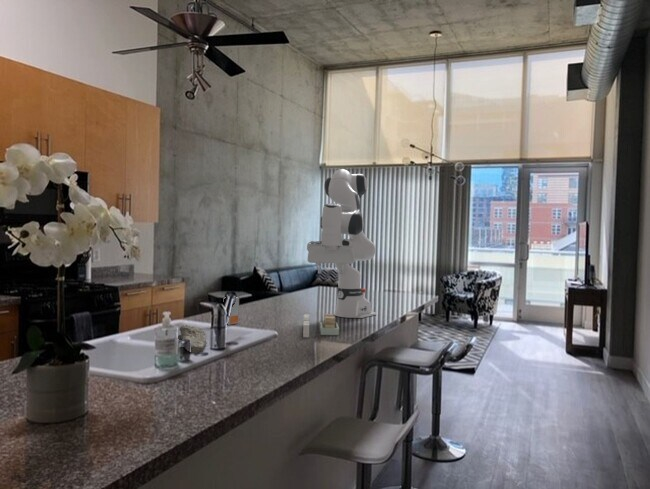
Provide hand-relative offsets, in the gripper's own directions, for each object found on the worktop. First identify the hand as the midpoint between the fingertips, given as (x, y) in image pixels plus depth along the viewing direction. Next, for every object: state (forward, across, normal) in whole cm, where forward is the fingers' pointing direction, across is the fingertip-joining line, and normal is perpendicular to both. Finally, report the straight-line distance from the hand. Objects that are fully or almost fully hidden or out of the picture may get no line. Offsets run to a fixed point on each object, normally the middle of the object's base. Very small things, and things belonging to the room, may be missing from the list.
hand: (330, 273), depth 222 cm
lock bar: (+24, 0, 0) cm, 24 cm away
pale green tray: (+25, 0, 0) cm, 25 cm away
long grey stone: (+26, -53, -24) cm, 63 cm away
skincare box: (+25, -44, +14) cm, 53 cm away
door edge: (+25, -10, +1) cm, 27 cm away
